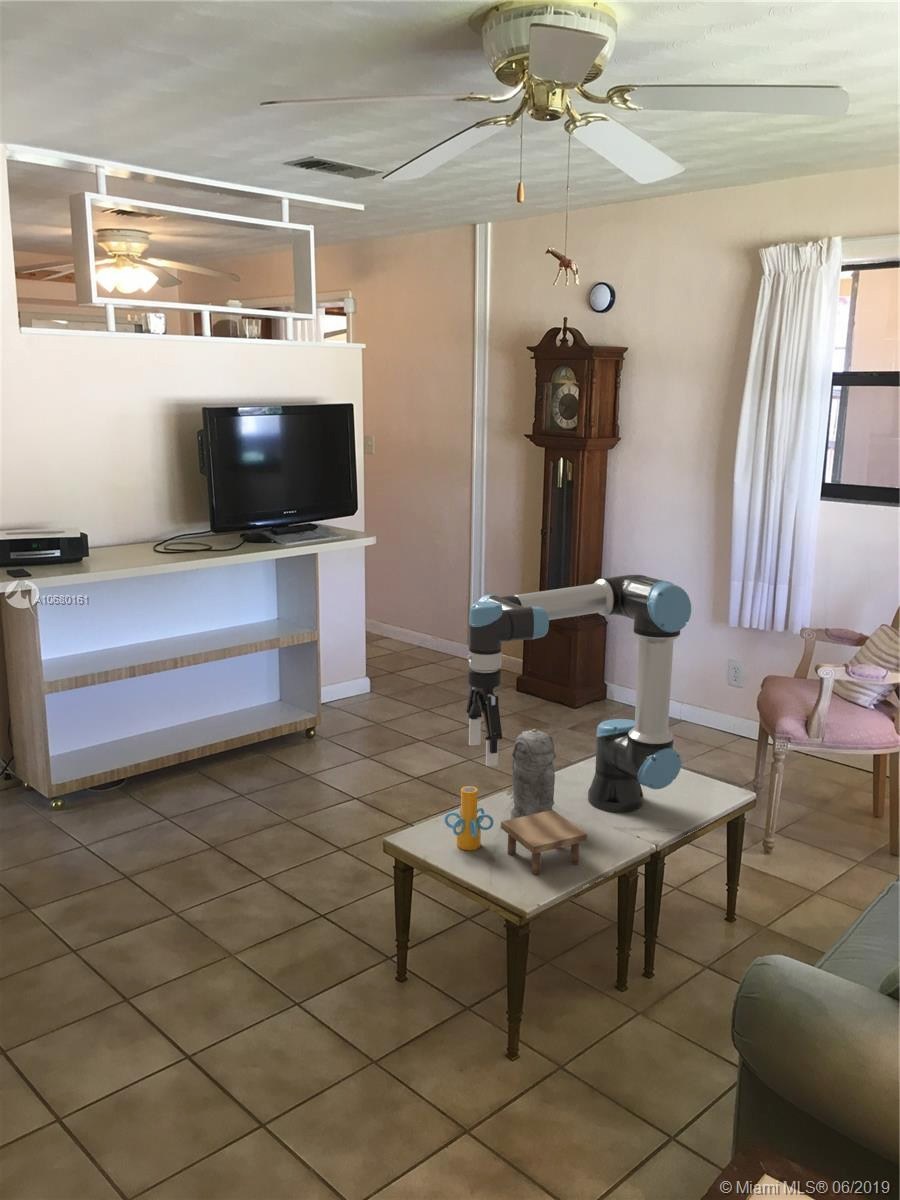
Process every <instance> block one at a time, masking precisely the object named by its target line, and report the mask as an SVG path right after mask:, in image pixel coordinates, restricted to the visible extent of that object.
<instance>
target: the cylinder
mask: <svg viewBox="0 0 900 1200" xmlns="http://www.w3.org/2000/svg"><path fill="white" fill-rule="evenodd" d="M479 812H481V814H479ZM478 814H479V815H478ZM451 816H455V817H456V818H457V819H456V820H455V821H454V823H453V824H451V823H450V822H449V820H448V819H449V818H450V817H451ZM485 818H486V819H488V820H489V825H487V826H483V825H482V824H481V823H482V822H483V821H484V819H485ZM444 824H445V825H446V827H448V828H451V829H452V832H453V834H454V835H455V836H456V846H457V847H458V849H460V850H463V851H475V850H478V849H479V848H480V847H481V843H482V837H481V836H482V831H487V830H490V829H491V828H493V826H494V818H493V816H491V815H490V814H487V813H485V810H484V808H483V807H478V788H477V787H475V786H471V785H469V786H468V785H467V786H463V787H461V788H460V808H459V813H458V812H455V811H450V812H448V813H446V815H445V816H444ZM481 830H482V831H481Z"/></svg>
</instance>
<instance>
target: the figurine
mask: <svg viewBox="0 0 900 1200" xmlns="http://www.w3.org/2000/svg"><path fill="white" fill-rule="evenodd" d="M511 756H512V757H513V759H512V762H511V763H512V765H511V766H512V768H511V769H512V773H511V774H512V777H511V780H512V781H511V782H512V786H511V791H512V793H513V804H514V805H513V807H512V809H511V810H510V815H509V816H510V819H515V818H519V817H523V816H528V815H532V814H536V813H541V812H545V811H550V810H553V806H554V805H555V801H554V795H555V779H556V774H555V771H554V769H555V767H554V764H553V761H554V760H555V759H556V756H557V755H556V753H555V744H554V741H553V738H552V736H551V735H549V734H547V733H546V732H544V731H541V730H537V729H536V728H533V729H532V730H531V729H530V730H526V731H525V730H523V731H522V732H521V733H519V735H518V736H517V738H516V740H515V744H514V747H513V750H512V753H511Z"/></svg>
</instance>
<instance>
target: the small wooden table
mask: <svg viewBox="0 0 900 1200" xmlns="http://www.w3.org/2000/svg"><path fill="white" fill-rule="evenodd" d="M500 829H502V830H503V831H504V832H505V833H506V834H507V854H508V855H509V856H515V855H516V854H517V842H518V843H519V844H520V845H521V846H523V848H525V849H527V850H528V851H529V852H530V853H531V875H534V876H539V875H540V874H541V856H542V855H541V854H542V853H543V852H548V851H552V850H557V849H559V848H560V849H561V848H564V847H567V846H570V858H569V859H570V864H571V865H574V866H575V865H579V863H580V860H579V859H580V843H584V842H588V833H587V832H586V831H584V830H582V829H581V828H580V827H578V826H577V825H575V824H574V823H572V822H571V821H569V820H568V819H567V818H565V817H564V816H563V815H561V814H560V813H558V812H557V811H555V810H554V809H552V810H550V811H545V812H541V813H536V814H532V815H528V816H523V817H519V818H515V819H511V818H510V819H506V820H502V821H500Z"/></svg>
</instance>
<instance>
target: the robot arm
mask: <svg viewBox="0 0 900 1200" xmlns="http://www.w3.org/2000/svg"><path fill="white" fill-rule="evenodd" d="M469 610H470V611H469V620H468V627H469V628H468V629H469V631H468V633H469V634H468V636H469V639H468V642H469V643H468V654H469V655H467V656H466V659H467V660H468V667H469V669H468V675H467V676H468V680H467V681H468V685H470V689H469V696H468V700H467V705H466V709H465V711H466V714H468V715H467V716H468V718H469V719H468V722H469V723H468V745H469V746H479V745H480V746H481V732H482V731H481V729H482V719H481V718H483V719H484V724H485V730H486V733H487V736H486V737H484V740H485V741H486V744H485V766H486V767H493V766H498V765H499V740H503V733H502V722H501V715H500V707H499V706H500V705H499V700H500V699H499V695H495V693H494V689H496V688H497V687H499V686H500V685H501V682H502V681H501V677H502V675H501V672H502V671H501V667H502V643H509V642H515V641H517V642H518V641H527V640H535V639H540V638H543V637H545V636H546V635H547V634H548V632H549V629H550V627H549V625H550V624H549V623H550V621H551V620H553V621H554V620H557V619H558V620H559V619H563V618H564V619H565V618H572V617H579V616H584V615H585V616H586V615H590V614H591V615H592V614H598V615H601V616H611V615H615V616H622V617H625V618H629V619H631V620H633V634H634V635H635V636H636V637H637V638H638V640H639V641H638V653H637V670H636V672H637V674H636V691H635V692H636V693H635V709H634V720H633V719H628V718H627V719H625V718H616V719H615V718H613V719H607V720H604V721H602V722H600V723H599V724H598V725H597V729H596V735H595V738H596V743H595V744H596V746H595V747H596V749H595V750H596V751H595V771H594V775H593V779H592V782H591V784H590V787H589V789H588V792H587V801H588V802H589V804H590V805H592V806H593V807H595V808H597V809H599V810H603V811H607V812H612V813H613V812H614V813H627V812H633V811H637V810H638V809H640V808H641V807H642V806H643V804H644V793H643V789H642V786H645V787H647V788H649V789H652V790H662V789H664V788H666V787H668V786H670V785H671V784H672V783H673V781H675V780H676V778H677V777H678V776H679V773H680V771H681V768H682V758H681V756H680V754H679V752H678V751H677V750H675V749H674V734H673V733H672V732H671V730H669V719H670V706H671V705H670V704H671V703H670V701H671V687H672V686H671V685H672V672H673V671H672V670H673V657H674V655H673V654H674V642H675V640H677V639H678V638H679V637H680V635H681V630H683V628H685V627H686V626H687V623H688V622H689V621H690V618H691V616H692V603H691V599H690V596H689V595H688V593H687V592H686V590H684V589H683V588H682V587H681V586H679V585H676V584H675V583H673V582H669V581H665V580H661V579H658V578H653V577H649V576H646V575H644V574H643V575H642V574H626V575H618V576H613V577H606V578H599V579H598V578H597V580H596V581H594V583H591V584H583V585H577V586H570V587H569V586H568V587H563V588H557V589H549V590H548V589H547V590H542V591H535V592H528V593H522V594H521V593H520V594H513V595H506V596H499V595H494V594H485V595H483V596H481V597H480V598H479V599H478V601H476V602H473V604H471V605H470V609H469Z"/></svg>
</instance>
